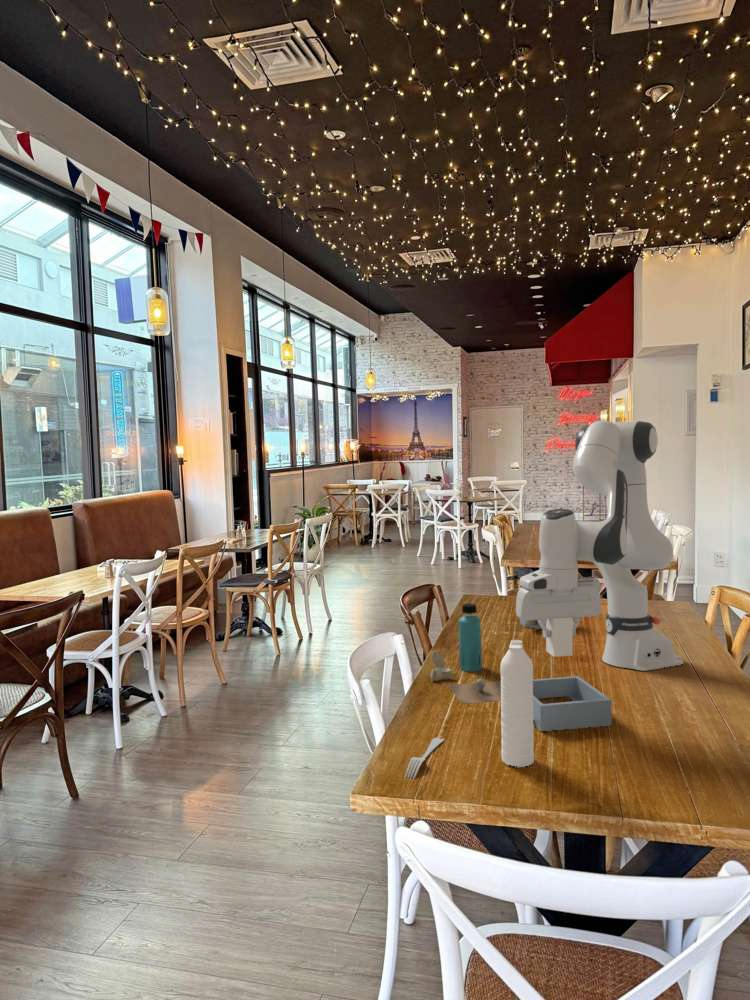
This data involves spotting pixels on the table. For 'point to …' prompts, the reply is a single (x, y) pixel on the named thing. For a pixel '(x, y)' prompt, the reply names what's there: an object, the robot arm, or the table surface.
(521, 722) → the water bottle
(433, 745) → the fork
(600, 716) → the slate bin
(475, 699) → the walnut base
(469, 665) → the beverage bottle
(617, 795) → the table surface
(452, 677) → the bone
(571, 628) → the ivory rectangular pillar
